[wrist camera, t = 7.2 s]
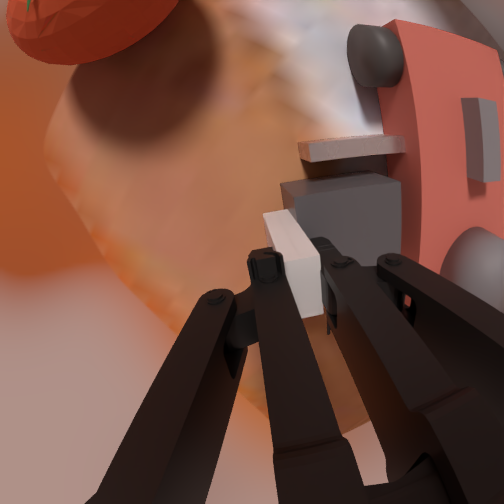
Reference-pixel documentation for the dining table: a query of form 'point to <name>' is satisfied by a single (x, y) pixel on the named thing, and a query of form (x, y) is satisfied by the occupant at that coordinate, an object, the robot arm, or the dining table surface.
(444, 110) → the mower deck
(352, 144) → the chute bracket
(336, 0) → the dining table surface
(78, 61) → the tomato
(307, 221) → the grey cube
